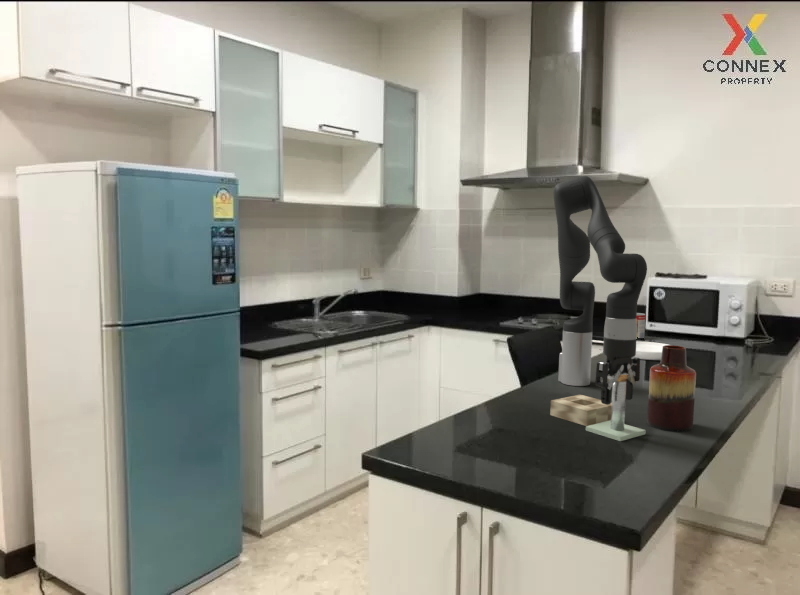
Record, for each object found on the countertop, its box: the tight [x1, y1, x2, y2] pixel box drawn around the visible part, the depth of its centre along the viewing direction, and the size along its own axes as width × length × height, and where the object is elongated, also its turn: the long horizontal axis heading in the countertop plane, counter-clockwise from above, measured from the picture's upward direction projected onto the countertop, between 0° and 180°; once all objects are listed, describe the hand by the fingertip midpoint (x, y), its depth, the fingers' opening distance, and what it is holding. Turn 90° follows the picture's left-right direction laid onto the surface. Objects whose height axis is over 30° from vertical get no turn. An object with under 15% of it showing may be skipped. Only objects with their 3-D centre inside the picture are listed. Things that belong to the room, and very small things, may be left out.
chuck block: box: [549, 394, 612, 427], centre depth 171 cm, size 12×12×4 cm
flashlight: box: [610, 372, 627, 431], centre depth 157 cm, size 3×3×14 cm
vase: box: [646, 344, 697, 433], centre depth 164 cm, size 11×11×20 cm
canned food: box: [636, 312, 647, 339], centre depth 303 cm, size 8×8×12 cm
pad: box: [585, 420, 646, 442], centre depth 158 cm, size 10×10×1 cm
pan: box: [592, 339, 669, 361], centre depth 264 cm, size 25×39×4 cm, turn 60°
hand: (616, 401), depth 157 cm, fingers open, 8 cm apart
